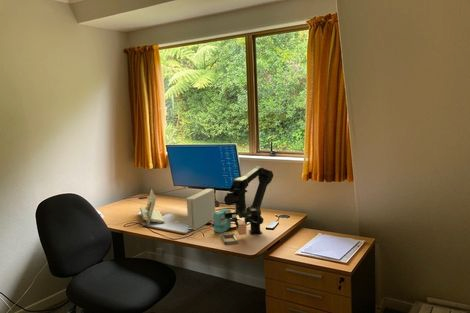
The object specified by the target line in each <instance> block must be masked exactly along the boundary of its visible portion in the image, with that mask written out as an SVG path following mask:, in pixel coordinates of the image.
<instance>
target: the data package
mask: <svg viewBox="0 0 470 313" xmlns="http://www.w3.org/2000/svg"><path fill="white" fill-rule="evenodd" d="M224 211H231V210H230V209H227V208H222V209H219V210H218V211H215V213H214V219H213V227H214V230H213V231H214V233H219V234H222V233H224V232H226V231H228V230H229V228H230V229H231V227H232V218H228V219H225V217H224Z"/></svg>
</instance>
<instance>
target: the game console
mask: <svg viewBox="0 0 470 313" xmlns="http://www.w3.org/2000/svg"><path fill="white" fill-rule="evenodd" d="M215 201H216V200H215V189H214V188H206V189H204V190H201V191H199V192H197V193H196V194H193V195H191V196H189V197H186V208H187V209H186V211H187V213H186V214H187V226H188V227H187V229H188V228H191V229H193V230H192V231H197V230H198V229H199V228H201V227H203V226H204V225H206V224H208V223H209V222H211V221H213V220H214V213H216V202H215Z"/></svg>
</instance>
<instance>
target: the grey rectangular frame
mask: <svg viewBox="0 0 470 313" xmlns="http://www.w3.org/2000/svg"><path fill="white" fill-rule="evenodd" d="M220 236H221V240H222V241H223V244H224V245H226V246H227V245H232V244H234V245H235V244H239V240H238V239H237V237H236V235H235V233H228V234H221V235H220ZM226 238H233V240H226Z"/></svg>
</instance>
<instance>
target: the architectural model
mask: <svg viewBox="0 0 470 313" xmlns="http://www.w3.org/2000/svg"><path fill="white" fill-rule="evenodd" d="M156 200H157V196H156V194H155V192H154V190H153V189H152V188H151V190H150V193H149V196H148V200H147V202H146V206H140V208H139V209H140V210H139V211H140V214H141V217H142V220H145V221H146V223H147V225H148V224H149V225H150V223H151V222H154V223H155V222H156V223H160V224H162V223H161V222H165V223H166V221H165V219H164V217H163V214H162V212H161V211H160V210H159V209H155V205H156ZM163 219H164V220H163Z"/></svg>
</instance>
